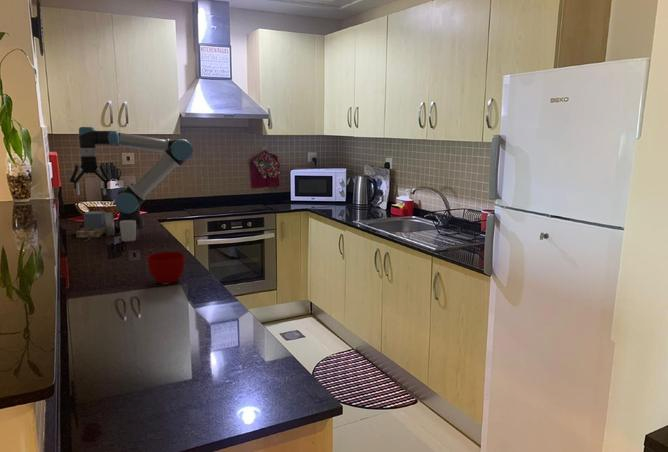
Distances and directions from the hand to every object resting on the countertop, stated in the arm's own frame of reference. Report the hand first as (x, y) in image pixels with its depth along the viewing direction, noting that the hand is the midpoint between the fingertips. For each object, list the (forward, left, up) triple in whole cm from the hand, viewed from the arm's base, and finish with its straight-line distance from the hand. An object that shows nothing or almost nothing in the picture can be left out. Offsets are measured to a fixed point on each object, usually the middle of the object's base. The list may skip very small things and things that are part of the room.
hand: (91, 194), depth 272 cm
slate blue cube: (-1, -1, -18) cm, 18 cm away
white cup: (-24, +24, -21) cm, 40 cm away
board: (-1, +4, -21) cm, 21 cm away
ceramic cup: (-54, +102, -21) cm, 117 cm away
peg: (-11, +8, -21) cm, 25 cm away
